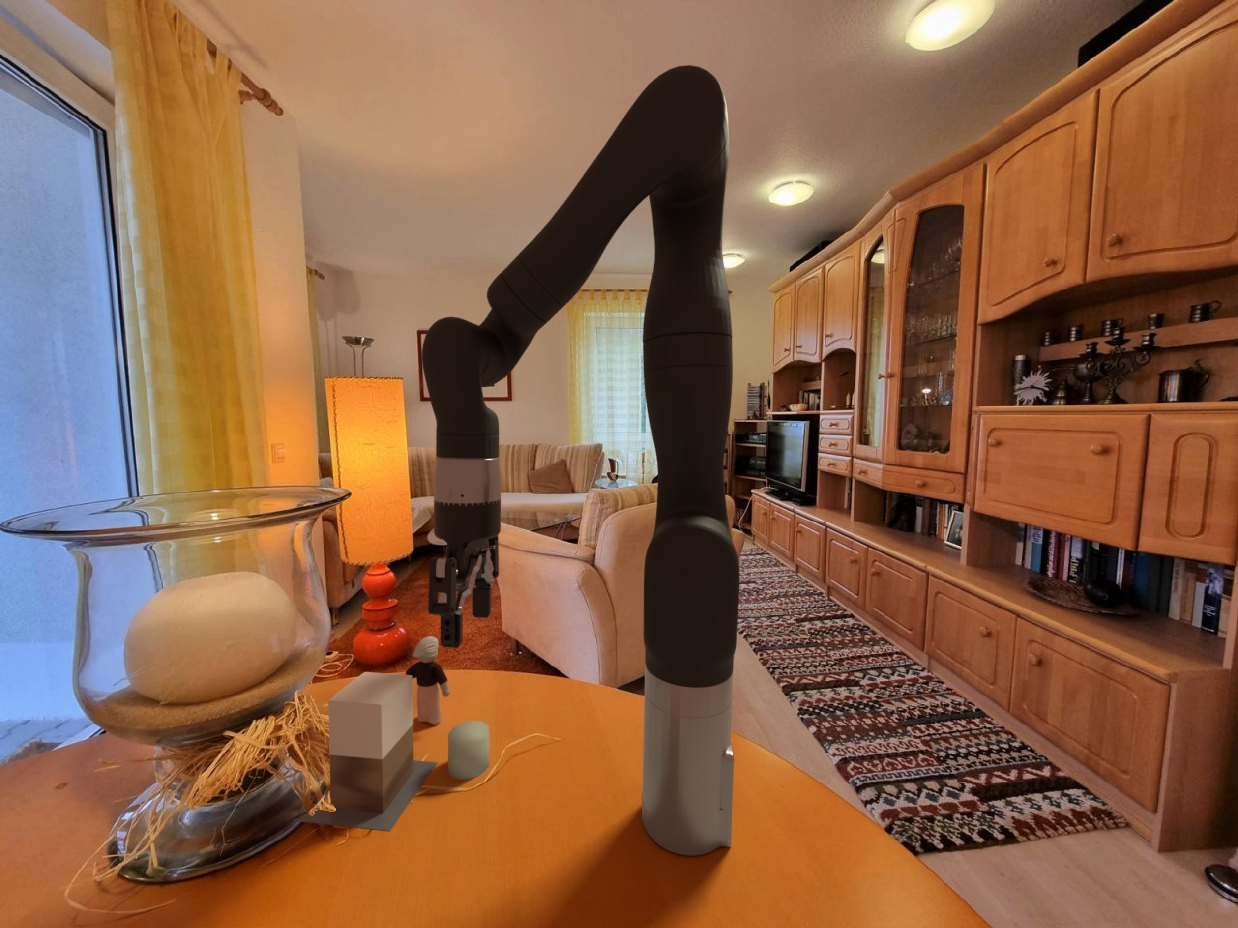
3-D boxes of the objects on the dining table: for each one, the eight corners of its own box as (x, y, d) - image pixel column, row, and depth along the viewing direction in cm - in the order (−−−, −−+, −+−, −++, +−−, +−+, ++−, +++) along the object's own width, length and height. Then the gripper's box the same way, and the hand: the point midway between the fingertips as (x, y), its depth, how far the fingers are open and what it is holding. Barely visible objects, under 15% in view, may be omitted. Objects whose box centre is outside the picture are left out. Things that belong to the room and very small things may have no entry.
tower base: (413, 772, 56) (412, 724, 55) (383, 812, 50) (382, 759, 49) (366, 768, 56) (365, 720, 56) (330, 807, 50) (329, 754, 50)
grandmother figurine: (460, 718, 68) (459, 633, 67) (446, 735, 64) (445, 645, 63) (411, 713, 69) (409, 629, 68) (394, 729, 65) (393, 641, 64)
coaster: (437, 768, 58) (437, 762, 58) (390, 837, 48) (389, 830, 48) (361, 761, 59) (361, 755, 59) (299, 828, 49) (299, 820, 49)
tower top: (412, 724, 55) (412, 675, 55) (382, 759, 49) (381, 704, 49) (365, 720, 56) (364, 671, 56) (329, 754, 50) (328, 700, 50)
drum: (495, 760, 59) (495, 722, 59) (480, 788, 55) (480, 747, 54) (458, 756, 60) (458, 719, 59) (440, 784, 55) (440, 743, 55)
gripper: (474, 506, 48) (473, 660, 49) (518, 489, 62) (517, 609, 63) (404, 503, 48) (405, 655, 49) (463, 487, 62) (463, 606, 63)
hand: (467, 630), depth 56 cm, fingers open, 8 cm apart
